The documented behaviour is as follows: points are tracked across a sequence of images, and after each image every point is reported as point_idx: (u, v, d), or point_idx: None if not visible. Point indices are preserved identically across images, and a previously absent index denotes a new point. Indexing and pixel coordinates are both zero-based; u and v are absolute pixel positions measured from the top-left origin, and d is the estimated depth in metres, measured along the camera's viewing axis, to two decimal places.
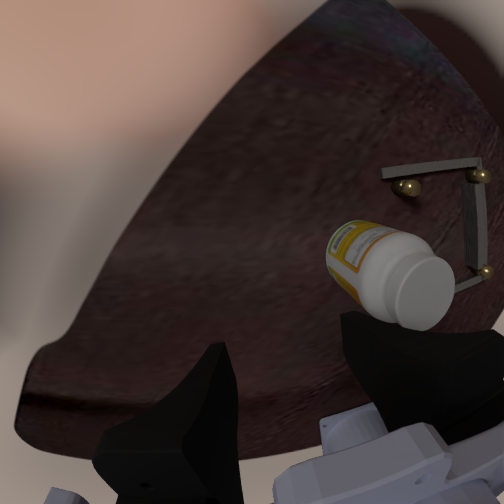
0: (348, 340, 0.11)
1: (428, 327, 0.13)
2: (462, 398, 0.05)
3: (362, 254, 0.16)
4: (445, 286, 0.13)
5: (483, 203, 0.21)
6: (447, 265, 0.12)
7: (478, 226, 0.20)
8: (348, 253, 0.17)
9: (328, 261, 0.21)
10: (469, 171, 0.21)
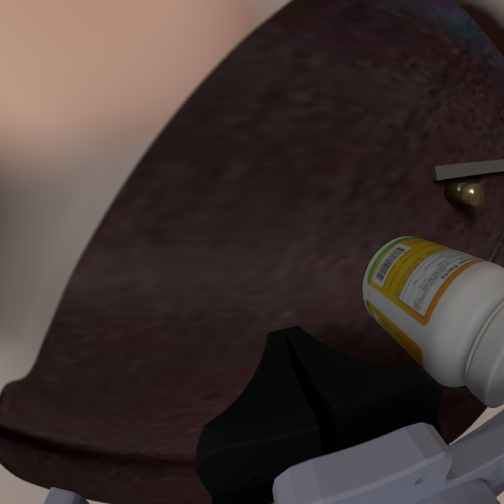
0: (290, 356, 0.11)
1: None
2: None
3: (432, 296, 0.09)
4: None
5: None
6: None
7: None
8: (405, 289, 0.11)
9: (367, 294, 0.14)
10: None
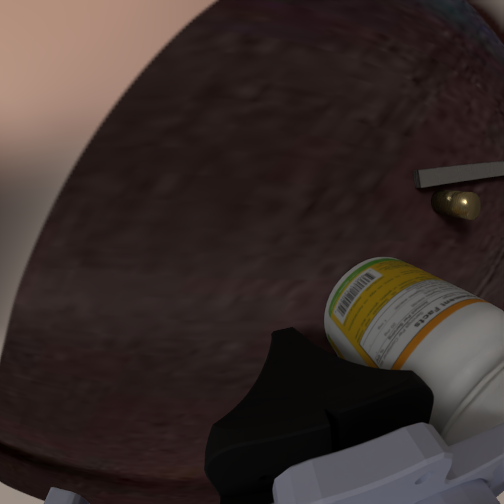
0: None
1: None
2: None
3: (399, 350, 0.07)
4: None
5: None
6: None
7: None
8: (368, 334, 0.09)
9: (328, 328, 0.12)
10: None
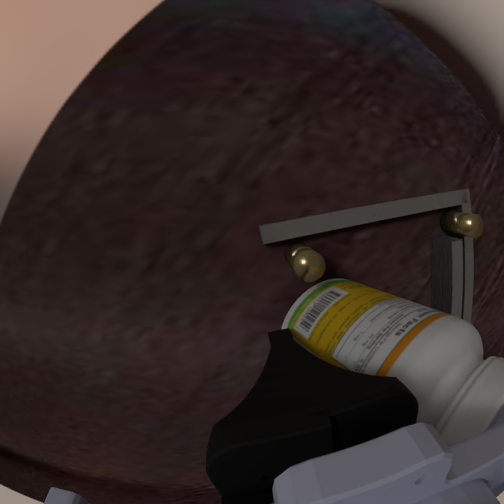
0: None
1: None
2: None
3: (382, 357, 0.07)
4: None
5: (469, 265, 0.14)
6: None
7: (452, 312, 0.13)
8: (342, 346, 0.09)
9: None
10: (446, 214, 0.13)
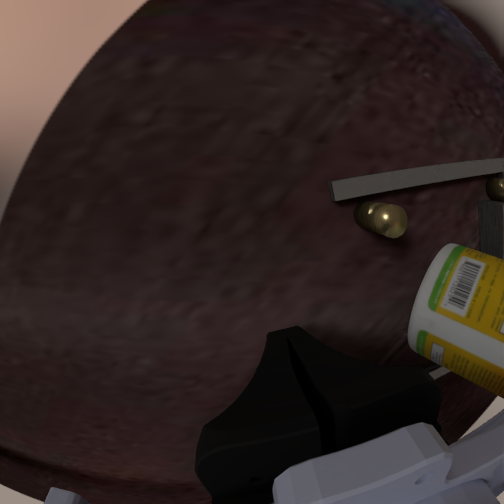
0: (290, 356, 0.11)
1: None
2: None
3: None
4: None
5: None
6: None
7: None
8: None
9: (427, 323, 0.10)
10: (492, 180, 0.12)
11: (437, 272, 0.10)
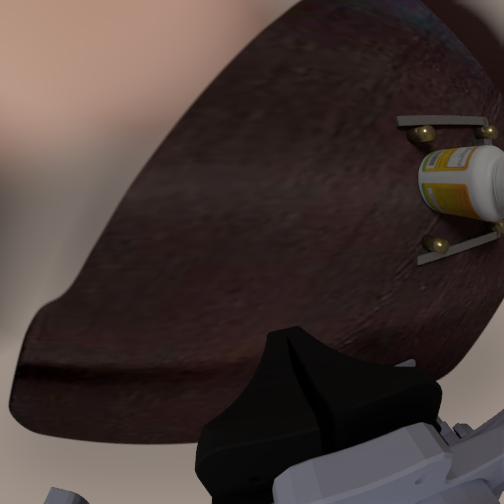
0: (290, 356, 0.11)
1: None
2: None
3: (466, 156, 0.15)
4: None
5: None
6: None
7: None
8: (450, 161, 0.17)
9: (423, 178, 0.20)
10: (477, 128, 0.20)
11: (426, 157, 0.20)
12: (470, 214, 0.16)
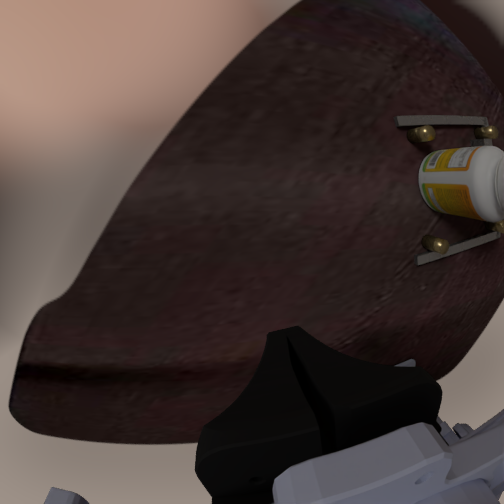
0: (290, 356, 0.11)
1: None
2: None
3: (467, 157, 0.15)
4: None
5: None
6: None
7: None
8: (451, 161, 0.17)
9: (423, 179, 0.20)
10: (477, 128, 0.20)
11: (426, 157, 0.20)
12: (471, 214, 0.16)
